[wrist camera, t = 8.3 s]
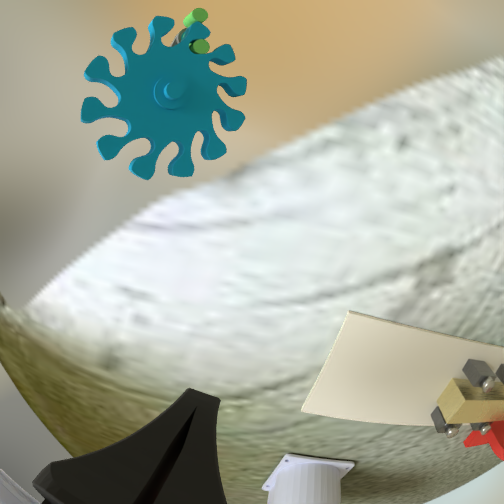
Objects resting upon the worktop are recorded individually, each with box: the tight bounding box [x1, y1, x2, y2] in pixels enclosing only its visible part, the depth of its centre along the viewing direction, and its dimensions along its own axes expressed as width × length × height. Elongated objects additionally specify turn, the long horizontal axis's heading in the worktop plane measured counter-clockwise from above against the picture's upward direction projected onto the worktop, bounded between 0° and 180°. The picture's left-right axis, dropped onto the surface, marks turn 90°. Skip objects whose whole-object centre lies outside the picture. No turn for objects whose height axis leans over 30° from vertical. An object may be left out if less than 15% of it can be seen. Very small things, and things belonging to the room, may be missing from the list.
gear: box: [81, 8, 247, 180], centre depth 15 cm, size 11×6×10 cm
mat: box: [301, 310, 504, 426], centre depth 19 cm, size 10×23×1 cm, turn 76°
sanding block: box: [436, 378, 504, 424], centre depth 17 cm, size 3×10×3 cm, turn 76°
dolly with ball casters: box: [430, 359, 504, 438], centre depth 16 cm, size 7×8×3 cm
